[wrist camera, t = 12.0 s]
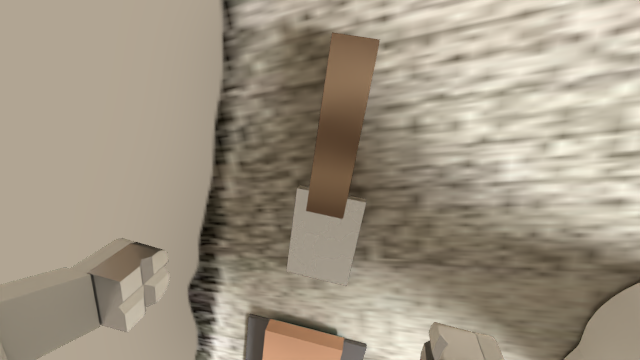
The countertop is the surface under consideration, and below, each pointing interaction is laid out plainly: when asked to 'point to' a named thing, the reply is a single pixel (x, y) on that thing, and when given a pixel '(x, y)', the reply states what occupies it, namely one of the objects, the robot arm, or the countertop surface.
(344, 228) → the turner
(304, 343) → the tile
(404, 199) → the countertop surface
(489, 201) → the countertop surface
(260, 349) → the mat
